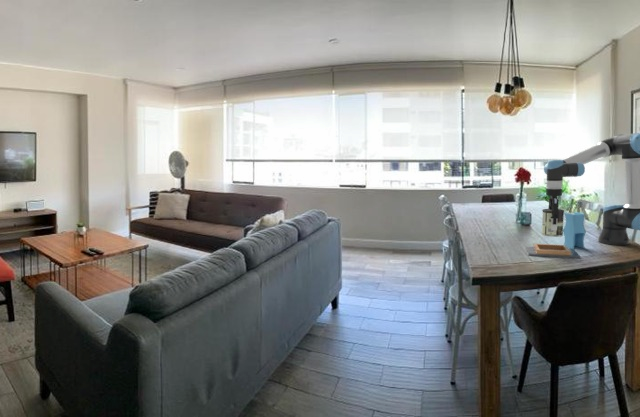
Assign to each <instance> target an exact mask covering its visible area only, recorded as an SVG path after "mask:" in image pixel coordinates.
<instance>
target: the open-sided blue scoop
mask: <svg viewBox="0 0 640 417" xmlns="http://www.w3.org/2000/svg"><path fill="white" fill-rule="evenodd" d="M585 215H586V213H583V212H577V211H574V212H573V213H569V212H568V213H567V212H564V217H565V218H564V219H565V224H564V226H563V236H564V244H563V245H566V246H567V247H568V249H574V250H575V247H577V248H582V249H585V248H586V247H585V243H584V240H585V236H586V233H587V231H586V227H585V225H584V220H585Z"/></svg>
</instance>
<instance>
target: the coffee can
mask: <svg viewBox="0 0 640 417" xmlns="http://www.w3.org/2000/svg"><path fill="white" fill-rule="evenodd" d="M541 211H542V218H541V220H542V221H541V223H542V224H541V235H542V236H544V237H548V238H549V237H551V238H552V237H553V238H558V237H559V238H561V237H563V236H564V233H563V229H564V219H565V218H564V217H565V214H564V213H565V210H564V209H559V208H558V218H557V230H551V217H552V209H548V208H543V209H542V210H541Z"/></svg>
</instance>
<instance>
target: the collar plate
mask: <svg viewBox="0 0 640 417" xmlns="http://www.w3.org/2000/svg"><path fill="white" fill-rule="evenodd" d="M525 250H526V252H527V255H528V256H531V257H548V258H564V259H565V258H568V259H581V255H580V254H579V253H578V252H577V251H576V250H575V248H574V249H571V248H568V247H567V246H566V245H564V244H544V243H533V246H525Z"/></svg>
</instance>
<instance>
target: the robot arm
mask: <svg viewBox="0 0 640 417" xmlns="http://www.w3.org/2000/svg"><path fill="white" fill-rule="evenodd" d="M619 155H620V156H621V160H622V161H624V162H625V163H624V164H625V166H624V167H625V169H624V170H625V202H626V203H625V204H612V205H611V204H609V205H605V206H604V207H603V211H602V213H603V214H602V229H601V232H600V233H599V234H600V235H598V241H597V242H599V243H601V244H606V245H611V246H612V245H614V246H627V245H630V237H629V234H628V232H627V231H628V230H627V229H631V230H634V231H640V132H635V133H623V134H622V133H620V134H616V135H614V136H611V137H608V138H606V139H603V140H601V141H599V142H597V143H596V144H595V145H594V146H591V147H589V148H587V149H584V150H582V151H579V152H577V153H574V154H572V155H569V156H567V157H565V158H562V159H549V160H548V161H547V163H546V164H545V165H544V167H543V172H544V174H545V175H546V182H544V183H545V184H546V185H545V186H546V190H545V195H546V196H547V197H548V196H549V197H548V208H547V209H552V217H551V230H557V218H558V209H559V201H560V200H559V199H558V197H561V196H562V195H563V189H562V188H563V180H564V179H563V178H570V177H571V178H573V177H574V178H576V177H582V176H583V175H584V174H585V171H586V170H585V169H586V168H585V164H588V163H591V162H593V161H595V160H599V159H601V158H607V157H610V156H619Z"/></svg>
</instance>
